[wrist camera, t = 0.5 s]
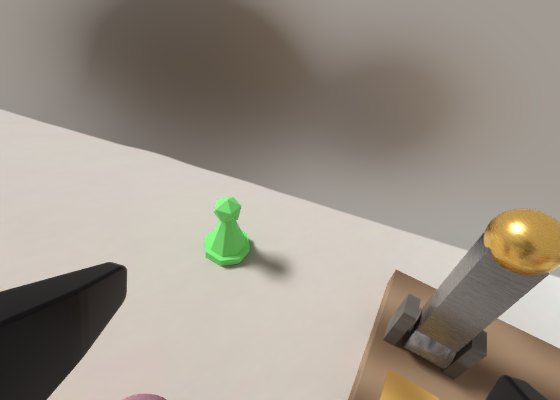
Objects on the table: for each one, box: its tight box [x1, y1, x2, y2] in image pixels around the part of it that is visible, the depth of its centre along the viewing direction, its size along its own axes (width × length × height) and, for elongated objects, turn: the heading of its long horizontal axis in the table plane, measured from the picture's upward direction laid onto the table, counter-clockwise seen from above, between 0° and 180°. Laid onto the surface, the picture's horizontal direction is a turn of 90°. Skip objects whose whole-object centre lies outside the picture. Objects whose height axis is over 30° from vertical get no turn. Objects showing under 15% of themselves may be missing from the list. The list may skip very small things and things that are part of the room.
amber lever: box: [403, 208, 560, 369], centre depth 17 cm, size 3×3×12 cm
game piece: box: [205, 197, 250, 266], centre depth 26 cm, size 4×4×6 cm
